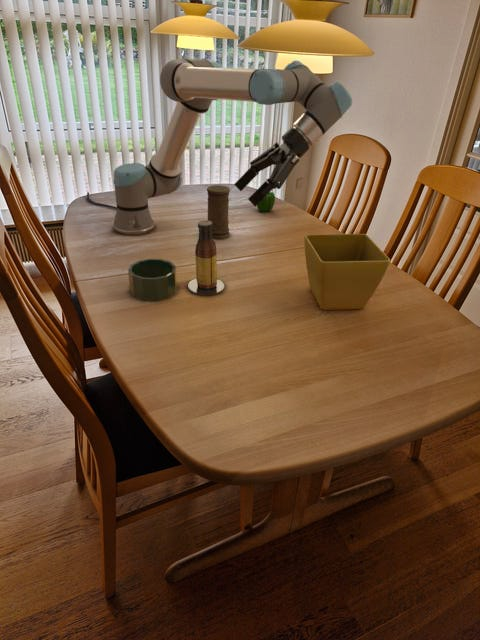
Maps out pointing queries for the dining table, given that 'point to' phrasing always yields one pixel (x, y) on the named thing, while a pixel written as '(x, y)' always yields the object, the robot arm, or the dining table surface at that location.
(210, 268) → the sauce bottle
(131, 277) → the crock
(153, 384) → the dining table surface
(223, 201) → the container
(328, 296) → the flower pot
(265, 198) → the bell pepper
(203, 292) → the coaster
